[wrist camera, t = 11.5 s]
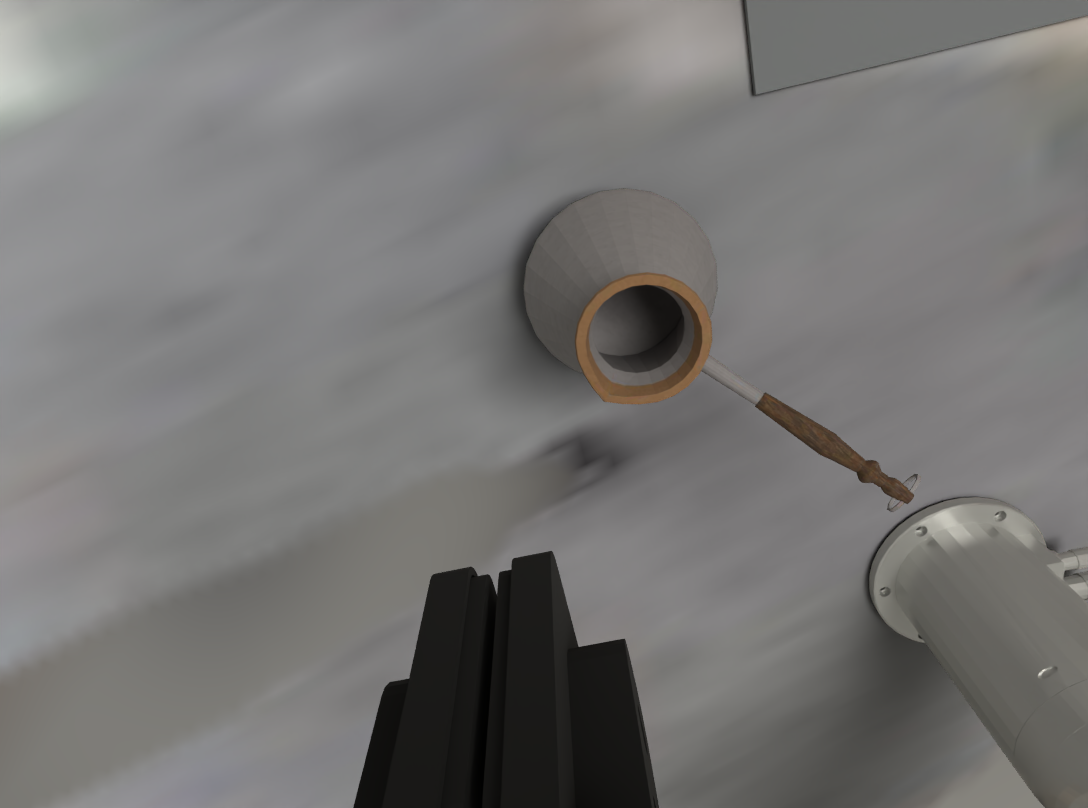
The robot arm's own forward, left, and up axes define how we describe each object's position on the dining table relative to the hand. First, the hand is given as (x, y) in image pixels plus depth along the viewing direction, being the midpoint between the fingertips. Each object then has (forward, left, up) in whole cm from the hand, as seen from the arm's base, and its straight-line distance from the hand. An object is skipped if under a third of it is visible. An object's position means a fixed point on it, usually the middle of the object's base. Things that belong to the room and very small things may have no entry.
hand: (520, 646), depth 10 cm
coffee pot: (-8, +8, -37) cm, 39 cm away
